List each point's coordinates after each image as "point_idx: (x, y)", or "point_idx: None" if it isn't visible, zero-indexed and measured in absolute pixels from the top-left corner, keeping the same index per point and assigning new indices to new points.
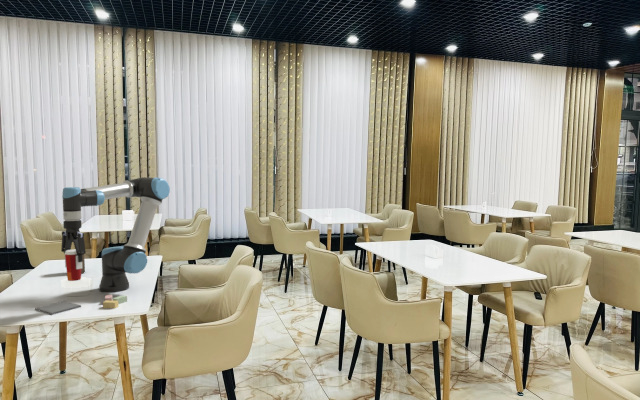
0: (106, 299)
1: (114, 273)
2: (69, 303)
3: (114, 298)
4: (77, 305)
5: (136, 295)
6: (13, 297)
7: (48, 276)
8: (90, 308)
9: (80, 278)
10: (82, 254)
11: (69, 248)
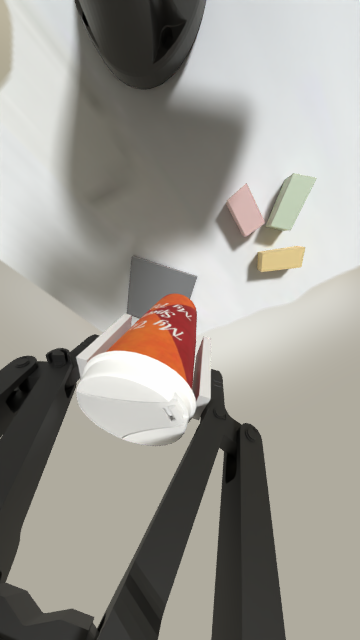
0: (249, 233)
1: None
2: (161, 272)
3: (279, 226)
4: (190, 281)
5: (316, 64)
6: (13, 257)
7: None
8: (227, 280)
9: (195, 308)
10: (230, 419)
11: (58, 400)
